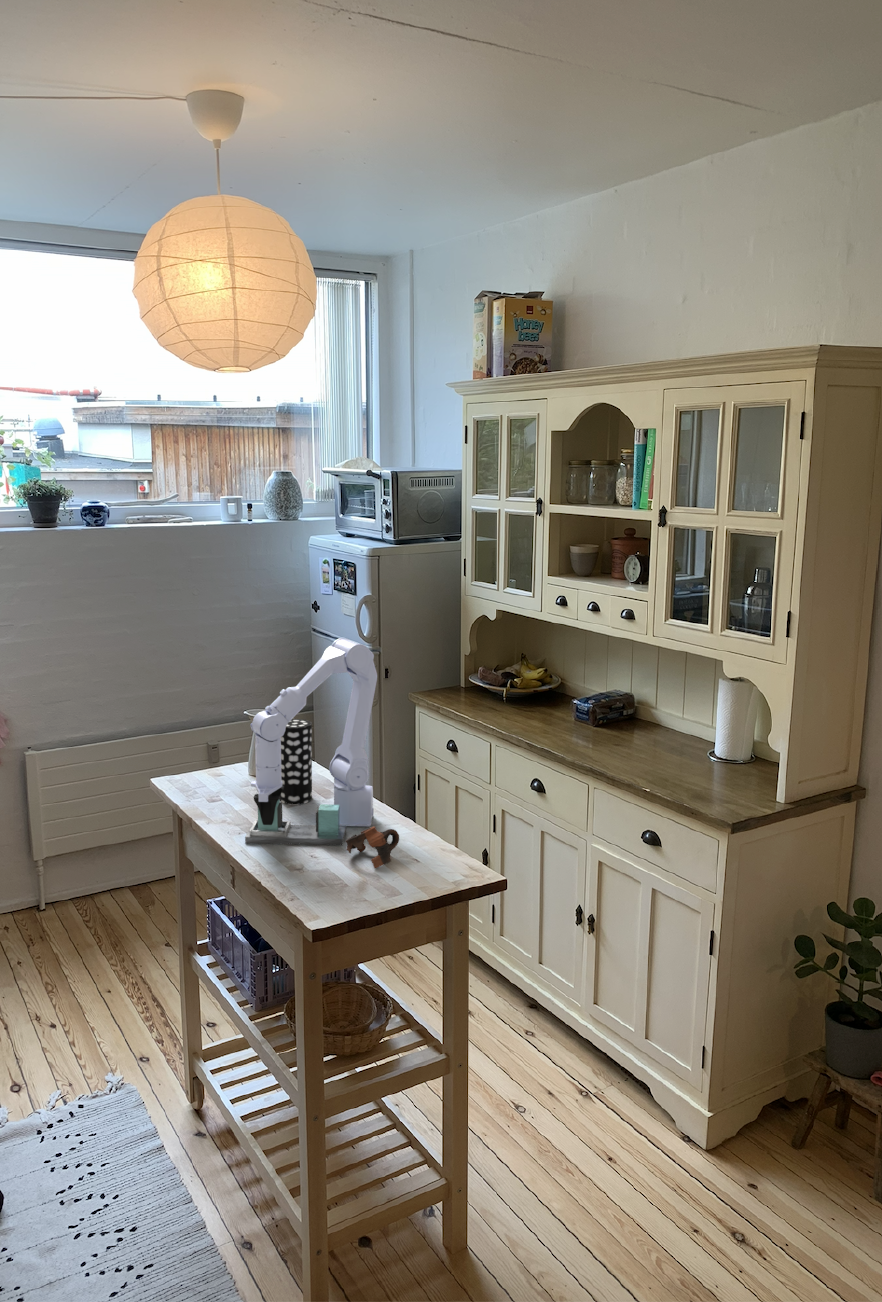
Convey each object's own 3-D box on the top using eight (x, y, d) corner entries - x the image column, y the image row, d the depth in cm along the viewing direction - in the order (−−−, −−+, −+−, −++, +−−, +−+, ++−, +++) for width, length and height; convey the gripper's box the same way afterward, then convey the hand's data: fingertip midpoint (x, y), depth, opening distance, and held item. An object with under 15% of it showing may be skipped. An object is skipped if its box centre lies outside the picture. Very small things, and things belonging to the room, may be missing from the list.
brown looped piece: (365, 875, 206) (349, 839, 206) (351, 878, 214) (335, 843, 215) (412, 850, 211) (396, 816, 212) (397, 854, 220) (381, 820, 220)
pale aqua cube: (258, 829, 221) (257, 804, 220) (261, 823, 225) (260, 799, 223) (280, 830, 221) (279, 805, 220) (282, 824, 225) (282, 799, 223)
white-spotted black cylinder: (293, 807, 242) (292, 730, 238) (272, 798, 248) (271, 723, 244) (318, 799, 248) (318, 723, 244) (298, 791, 254) (297, 717, 250)
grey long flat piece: (346, 831, 227) (346, 801, 226) (342, 845, 219) (342, 814, 218) (252, 829, 227) (251, 799, 226) (245, 843, 220) (244, 812, 218)
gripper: (256, 754, 227) (257, 809, 230) (244, 774, 213) (245, 832, 216) (287, 754, 227) (287, 809, 230) (276, 775, 213) (277, 833, 216)
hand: (269, 820), depth 223 cm, fingers closed on pale aqua cube, 4 cm apart
